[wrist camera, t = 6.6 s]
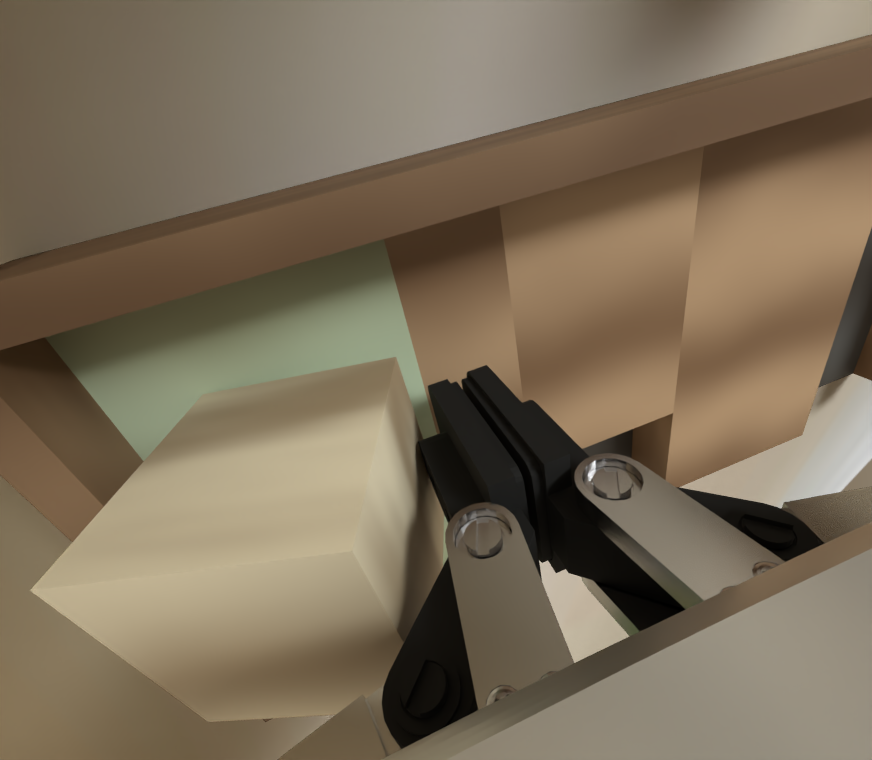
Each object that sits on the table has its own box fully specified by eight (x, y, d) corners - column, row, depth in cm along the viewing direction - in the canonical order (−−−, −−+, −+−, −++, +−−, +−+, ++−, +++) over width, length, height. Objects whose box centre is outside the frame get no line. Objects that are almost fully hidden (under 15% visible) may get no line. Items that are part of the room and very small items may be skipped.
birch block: (202, 394, 10) (30, 590, 6) (396, 356, 9) (352, 551, 5) (287, 523, 13) (208, 722, 9) (444, 501, 12) (440, 708, 8)
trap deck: (13, 260, 10) (-161, 323, 6) (998, 1, 14) (1249, -55, 11) (272, 601, 18) (265, 721, 14) (859, 364, 22) (974, 406, 18)
